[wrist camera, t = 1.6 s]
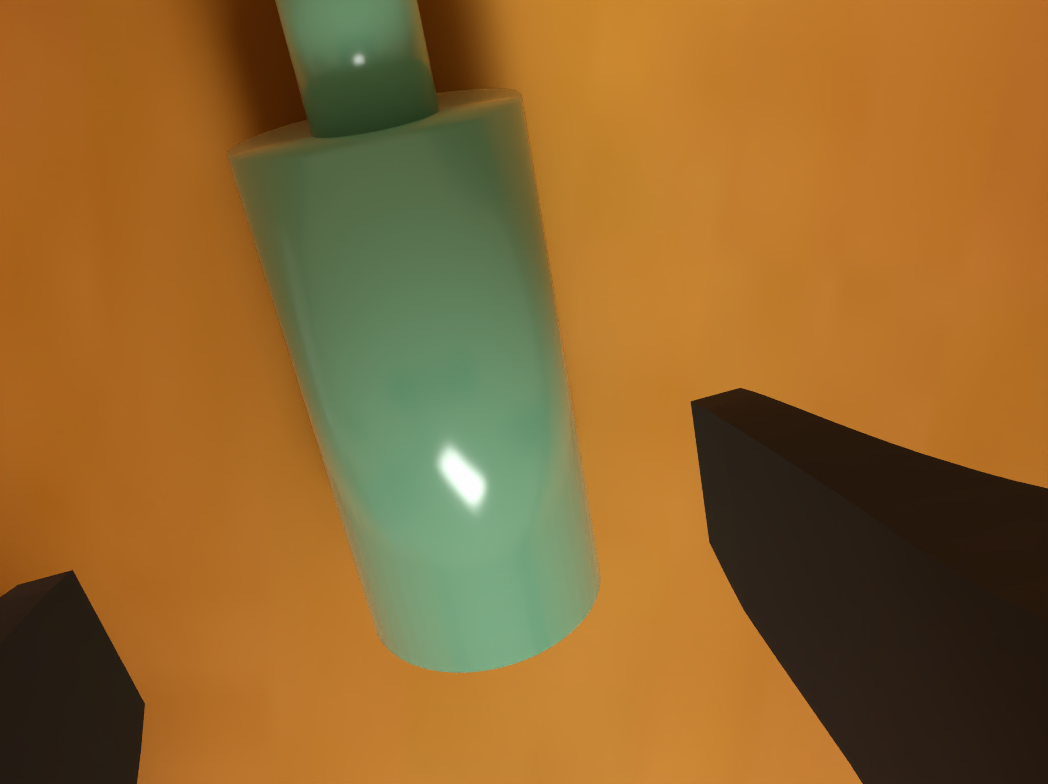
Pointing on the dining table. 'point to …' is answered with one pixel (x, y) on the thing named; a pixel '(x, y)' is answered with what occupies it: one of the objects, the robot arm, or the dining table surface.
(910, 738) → the robot arm
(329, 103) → the green bottle
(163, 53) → the dining table surface
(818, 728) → the dining table surface
